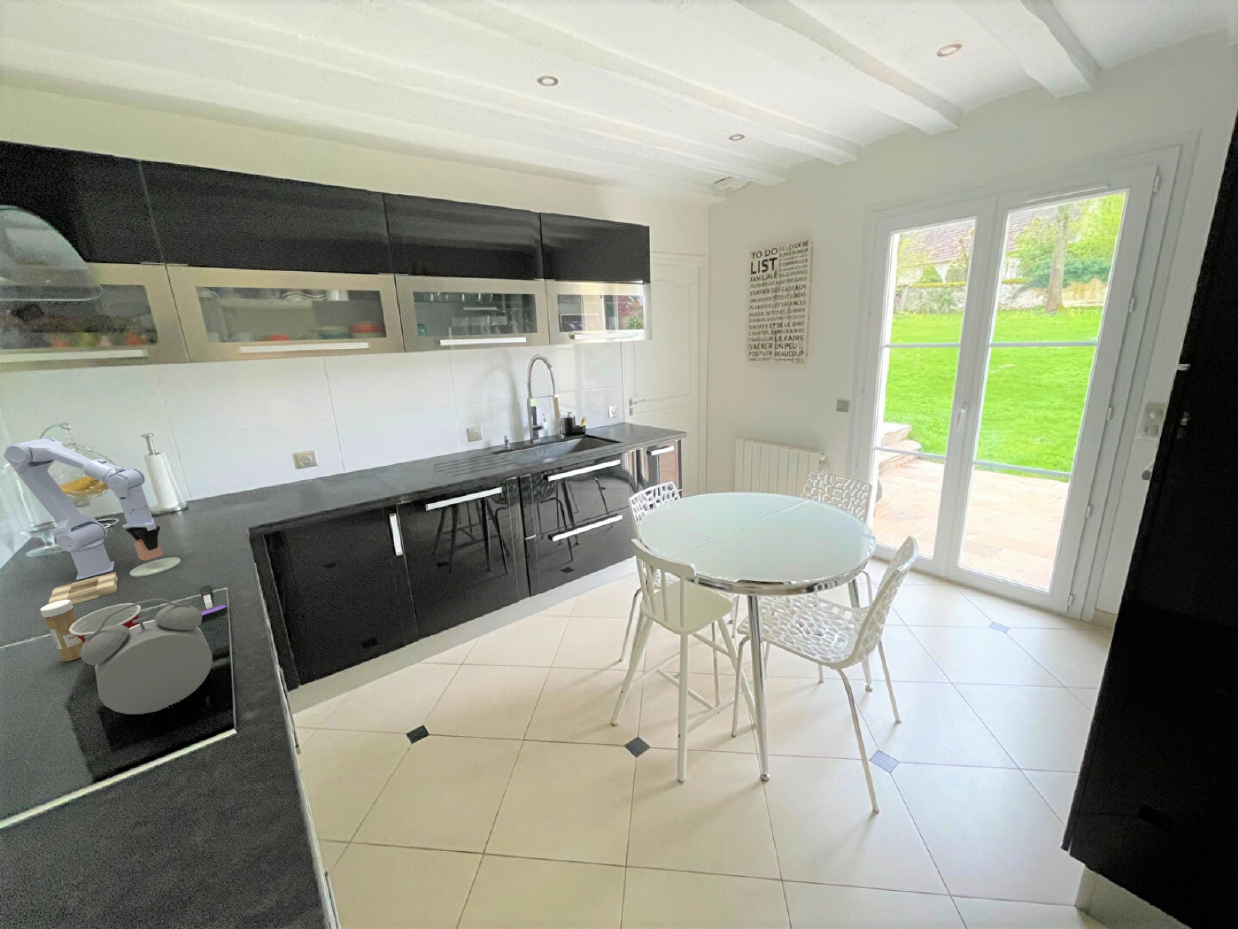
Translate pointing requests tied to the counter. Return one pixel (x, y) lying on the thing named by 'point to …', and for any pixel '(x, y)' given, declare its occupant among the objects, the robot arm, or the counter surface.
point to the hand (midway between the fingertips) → (149, 547)
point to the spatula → (208, 600)
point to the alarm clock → (149, 659)
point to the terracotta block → (146, 550)
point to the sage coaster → (155, 566)
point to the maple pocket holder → (86, 589)
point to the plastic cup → (94, 621)
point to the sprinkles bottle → (63, 628)
